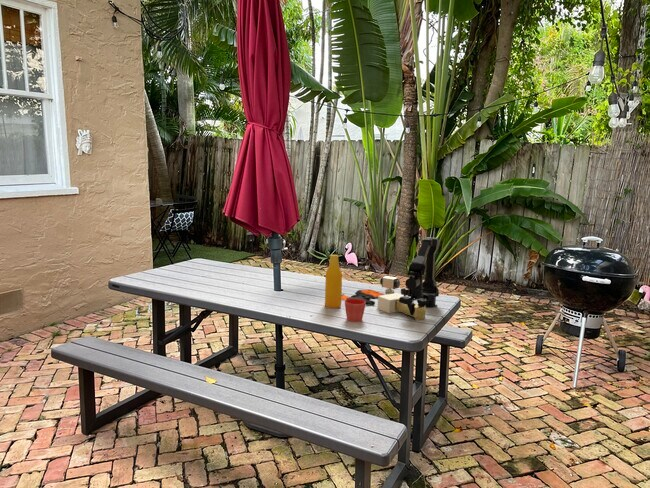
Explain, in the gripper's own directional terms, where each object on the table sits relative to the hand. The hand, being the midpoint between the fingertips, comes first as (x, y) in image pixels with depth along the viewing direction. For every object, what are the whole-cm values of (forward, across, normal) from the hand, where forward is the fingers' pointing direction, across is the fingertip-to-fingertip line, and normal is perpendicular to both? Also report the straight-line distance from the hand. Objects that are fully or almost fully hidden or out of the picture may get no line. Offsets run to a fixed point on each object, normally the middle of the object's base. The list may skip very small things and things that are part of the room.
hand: (415, 314), depth 244 cm
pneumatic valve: (+2, -19, -43) cm, 47 cm away
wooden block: (+1, 0, -4) cm, 5 cm away
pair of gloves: (+2, 0, -43) cm, 43 cm away
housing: (+2, 0, -18) cm, 18 cm away
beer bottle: (+2, +26, -38) cm, 47 cm away
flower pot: (+2, +30, -12) cm, 33 cm away
